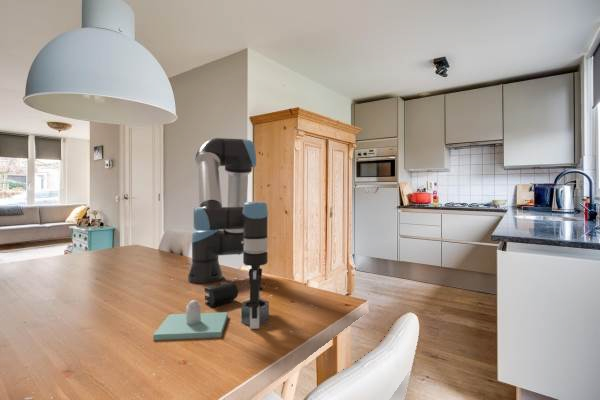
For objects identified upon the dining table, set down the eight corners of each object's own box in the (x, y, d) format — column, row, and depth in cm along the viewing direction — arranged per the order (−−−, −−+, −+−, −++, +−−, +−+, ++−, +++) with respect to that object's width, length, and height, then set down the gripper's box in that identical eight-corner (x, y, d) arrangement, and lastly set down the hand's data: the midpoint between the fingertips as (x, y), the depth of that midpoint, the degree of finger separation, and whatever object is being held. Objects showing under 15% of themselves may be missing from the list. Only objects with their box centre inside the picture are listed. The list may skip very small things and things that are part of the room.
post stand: (169, 319, 98) (169, 293, 98) (227, 316, 100) (227, 291, 100) (153, 340, 84) (152, 310, 84) (220, 337, 86) (220, 308, 86)
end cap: (214, 309, 106) (214, 290, 106) (203, 304, 111) (203, 285, 111) (238, 301, 114) (238, 283, 114) (227, 297, 119) (227, 279, 118)
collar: (243, 314, 102) (243, 299, 101) (269, 313, 102) (268, 298, 102) (240, 325, 93) (240, 309, 93) (268, 324, 94) (268, 308, 94)
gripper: (246, 244, 109) (246, 305, 110) (239, 260, 85) (239, 337, 85) (267, 244, 110) (267, 304, 110) (267, 259, 85) (267, 336, 86)
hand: (255, 319), depth 98 cm, fingers open, 12 cm apart
